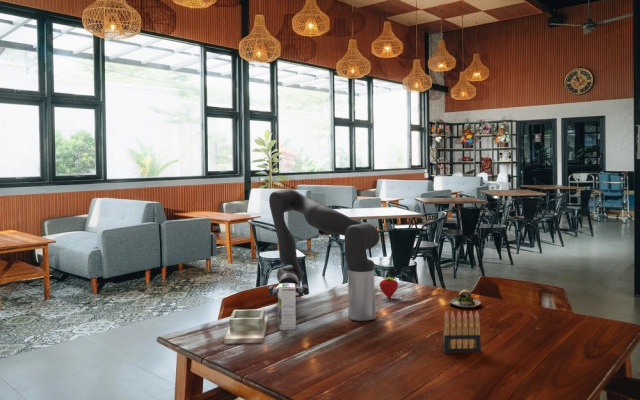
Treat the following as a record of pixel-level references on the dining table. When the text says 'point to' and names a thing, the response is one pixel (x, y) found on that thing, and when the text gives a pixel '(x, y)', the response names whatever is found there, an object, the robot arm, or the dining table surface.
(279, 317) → the syrup box
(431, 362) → the dining table surface
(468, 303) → the burger
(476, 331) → the ammunition clip
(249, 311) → the stand
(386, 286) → the strawberry
